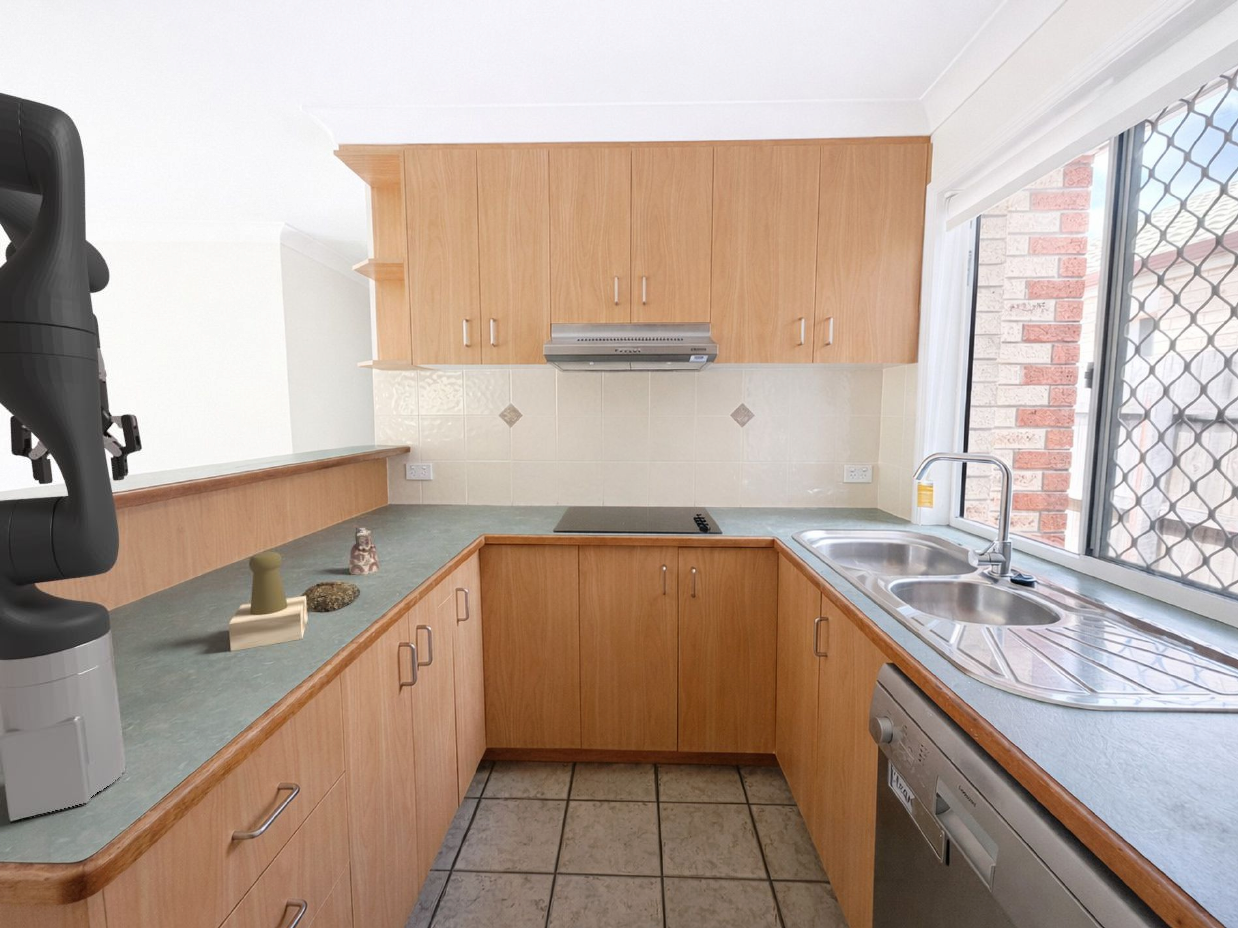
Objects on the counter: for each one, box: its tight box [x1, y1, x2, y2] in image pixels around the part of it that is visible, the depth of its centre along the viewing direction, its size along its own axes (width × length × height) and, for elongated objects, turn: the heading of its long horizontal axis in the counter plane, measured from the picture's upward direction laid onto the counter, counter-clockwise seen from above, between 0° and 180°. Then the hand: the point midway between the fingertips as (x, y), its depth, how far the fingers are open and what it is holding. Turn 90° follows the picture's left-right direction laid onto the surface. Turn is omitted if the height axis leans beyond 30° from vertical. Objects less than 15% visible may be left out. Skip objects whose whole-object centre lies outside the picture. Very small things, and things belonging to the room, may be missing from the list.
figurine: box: [348, 525, 380, 576], centre depth 143 cm, size 7×7×12 cm
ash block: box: [228, 595, 309, 652], centre depth 102 cm, size 11×11×5 cm
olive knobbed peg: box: [248, 551, 288, 615], centre depth 101 cm, size 6×6×11 cm
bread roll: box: [300, 580, 361, 613], centre depth 119 cm, size 13×12×5 cm
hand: (83, 481), depth 83 cm, fingers open, 8 cm apart
